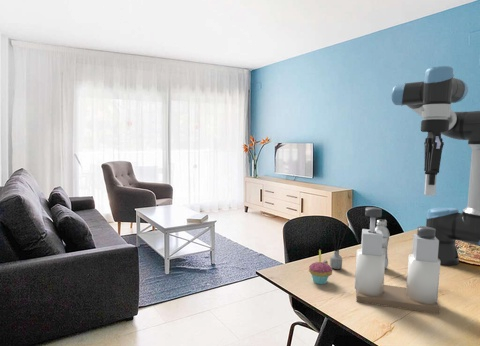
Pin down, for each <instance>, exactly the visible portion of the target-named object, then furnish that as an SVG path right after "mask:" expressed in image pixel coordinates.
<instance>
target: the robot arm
mask: <svg viewBox="0 0 480 346" xmlns="http://www.w3.org/2000/svg"><path fill="white" fill-rule="evenodd" d="M454 76H455V75H454V68H453V67H452V66H449V65H447V66H446V65H443V66H442V65H441V66H439V65H438V66H433V67H429V68H427V69H426V70H425V73H424V78H423V81H414V82H404V83H399V84H396V85H394V86H393V88H392V89H391V95H390V96H391V101H392V103H393V105H395V106H401V107H402V106H407V107H408V108H409V109H411V110H412V111H413V112H415V113H416V114H418V116H420V117H421V119H422V120H421V121H420V131H421V132H422V133H427V137H426V138H425V140H424V143H423V146H424V168H423V170H424V175H425V180H424V193H423V194H424V195H425V196H436V187H437V175H438V174H439V173H440V167H441V159H442V152H443V148H444V145H445V144H444V143H445V142H443V141H444V140H443V138H442V135H443V136H445V137H448V138H449V139H453V140H457V141H458V140H459V141H467V145H468V146H469V147H470V148H471V158H470V168H469V169H470V171H469V183H468V195H467V206H466V207H465V208H464V209H462V212H459V209H458V208H455V207H432V208H429V209H428V210H427V214H426V218H425V219H426V222H425V227H431V228H434V229H436V232H435V237H436V238H437V239H438V240H439V248H438V259H440V261H441V262H440V265H442V266H454V265H455V266H456V265H458V264H460V257H459V252H458V250H457V249H458V248H457V246H456V241H459V242H464V243H468V244H473V245H477V246H480V110H476V111H475V110H474V111H473V110H472V111H454V110H451V107H452V104H455V103H459V102H460V103H461V102H462V101H463V100H464V99H465V98H466V97H467V96H468V93H469V87H468V85H467V83H466V82H465V81H464V80H462V79H460V78H458V77H457V78H455V77H454Z"/></svg>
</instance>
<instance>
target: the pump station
mask: <svg viewBox="0 0 480 346" xmlns="http://www.w3.org/2000/svg"><path fill="white" fill-rule="evenodd" d="M412 238H413V239H412V249H411V250H412V252H411V253H410V254H408V260H407V273H406V287H405V286H404V287H403V286H396V285H390V284H389V285H388V284H385V270H386V269H385V256H386V254H385V253H384V252H382V242H383V234H382V232H381V231H380V230H375V233H370V228H369V229H367V228H362V230H361V243H360V248H357V249H356V255H355V256H356V257H355V259H356V261H355V277H354V289H355V298H356V299H355V300H356V302H357V303H364V304H371V305H375V306H376V305H378V306H384V307H389V308H390V307H391V308H397V309H404V310H411V311H416V312H417V311H418V312H424V313H428V314H429V313H430V314H437V315H440V313H441V307H440V305H439V303H438V297H439V287H440V286H439V284H440V274H441V273H440V272H441V271H440V270H441V264H440V262H441V261H440V259H438V248H439V240H438V239H437V238H436V237H435V238H423V237H420V236H418V235H417V233H413V236H412Z"/></svg>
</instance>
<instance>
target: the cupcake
mask: <svg viewBox="0 0 480 346" xmlns="http://www.w3.org/2000/svg"><path fill="white" fill-rule="evenodd" d="M321 252H322V250H318V261H316V262H313V263H311V264H310V265H309V268H308V272H309V273H310V275H311V278H312V281H313V283H315V284H318V285H325V284H327V281H328V279H329V277H330V276H331V275H333V268H332V267H331V266H330V264H329V263H328V264H326V263H323V261H322V253H321Z"/></svg>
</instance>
